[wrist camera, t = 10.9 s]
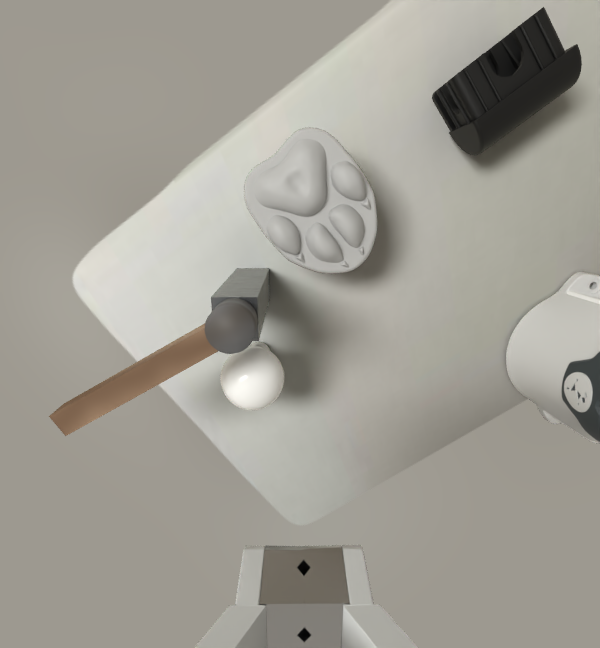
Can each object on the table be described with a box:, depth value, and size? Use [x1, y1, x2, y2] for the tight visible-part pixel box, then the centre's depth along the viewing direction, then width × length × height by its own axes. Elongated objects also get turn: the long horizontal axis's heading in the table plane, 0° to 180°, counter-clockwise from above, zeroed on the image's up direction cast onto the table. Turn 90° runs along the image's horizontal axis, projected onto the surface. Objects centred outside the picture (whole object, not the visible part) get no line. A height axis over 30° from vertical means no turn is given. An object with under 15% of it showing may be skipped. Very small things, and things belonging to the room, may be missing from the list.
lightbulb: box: [221, 342, 284, 410], centre depth 43 cm, size 6×6×11 cm
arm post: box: [211, 268, 270, 341], centre depth 39 cm, size 4×4×14 cm
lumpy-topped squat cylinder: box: [244, 128, 377, 274], centre depth 40 cm, size 10×13×9 cm
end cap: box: [432, 7, 582, 155], centre depth 38 cm, size 10×7×7 cm
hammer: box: [49, 298, 258, 436], centre depth 32 cm, size 4×18×3 cm, turn 120°
